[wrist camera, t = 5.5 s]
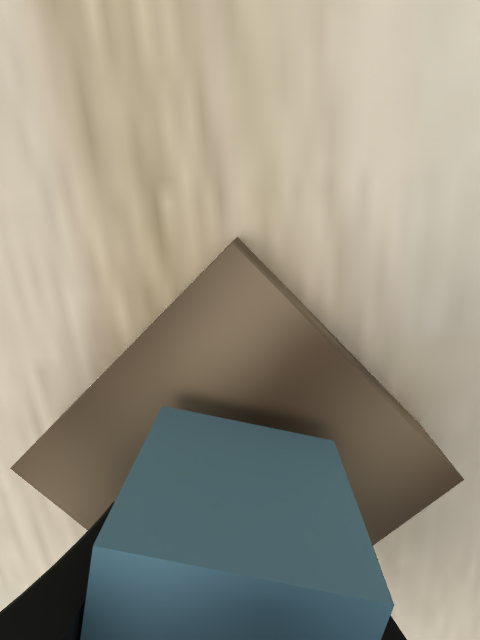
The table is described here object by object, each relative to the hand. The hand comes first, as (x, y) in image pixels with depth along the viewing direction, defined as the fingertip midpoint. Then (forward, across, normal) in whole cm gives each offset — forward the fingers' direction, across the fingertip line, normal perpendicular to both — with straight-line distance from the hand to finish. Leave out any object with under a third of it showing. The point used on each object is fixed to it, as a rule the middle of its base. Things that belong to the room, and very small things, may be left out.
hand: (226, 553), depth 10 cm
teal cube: (+2, 0, 0) cm, 2 cm away
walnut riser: (+7, 0, 0) cm, 7 cm away
